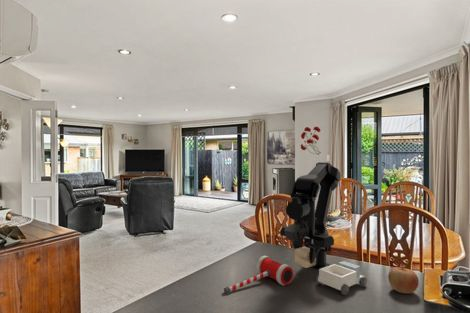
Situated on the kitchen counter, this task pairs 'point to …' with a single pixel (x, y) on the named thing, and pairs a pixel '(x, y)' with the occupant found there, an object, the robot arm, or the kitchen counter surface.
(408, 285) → the apple
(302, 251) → the cream wooden cube
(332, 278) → the toy truck
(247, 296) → the kitchen counter surface
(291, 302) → the kitchen counter surface
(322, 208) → the robot arm
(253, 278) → the toy hammer
